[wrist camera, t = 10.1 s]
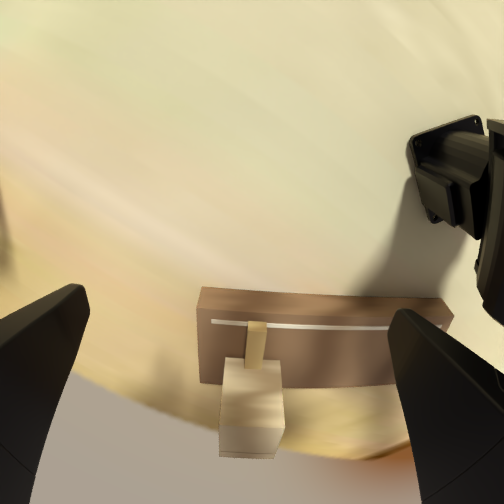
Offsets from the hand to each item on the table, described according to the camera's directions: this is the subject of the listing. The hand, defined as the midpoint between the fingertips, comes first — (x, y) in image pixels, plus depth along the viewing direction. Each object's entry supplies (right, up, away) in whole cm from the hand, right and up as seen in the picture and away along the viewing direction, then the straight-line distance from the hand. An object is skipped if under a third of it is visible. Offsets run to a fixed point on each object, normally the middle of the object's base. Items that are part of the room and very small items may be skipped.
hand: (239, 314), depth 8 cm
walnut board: (+6, -5, +16) cm, 18 cm away
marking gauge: (0, -6, +16) cm, 17 cm away
